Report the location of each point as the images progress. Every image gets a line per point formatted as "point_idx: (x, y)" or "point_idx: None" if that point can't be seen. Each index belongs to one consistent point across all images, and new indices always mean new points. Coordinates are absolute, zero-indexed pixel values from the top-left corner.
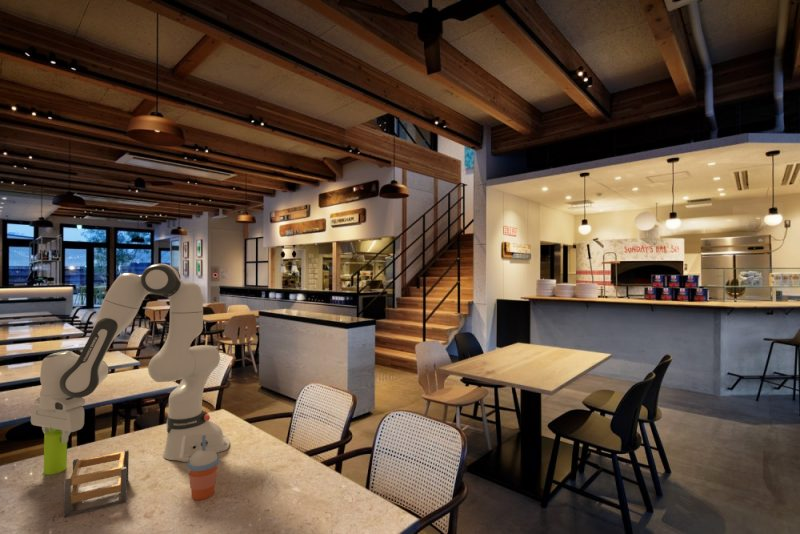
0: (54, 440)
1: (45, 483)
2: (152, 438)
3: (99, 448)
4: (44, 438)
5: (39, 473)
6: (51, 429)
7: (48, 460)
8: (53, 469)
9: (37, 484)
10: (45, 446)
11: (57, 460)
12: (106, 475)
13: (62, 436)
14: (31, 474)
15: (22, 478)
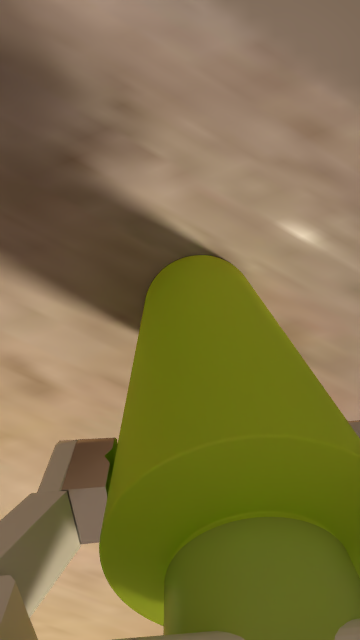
0: (134, 424)
1: (69, 184)
2: (101, 623)
3: None
4: (303, 397)
5: (250, 250)
6: (255, 597)
7: (179, 288)
8: (154, 285)
9: (102, 155)
10: (233, 334)
11: (141, 324)
12: None
13: (28, 515)
14: (286, 224)
15: (288, 168)
